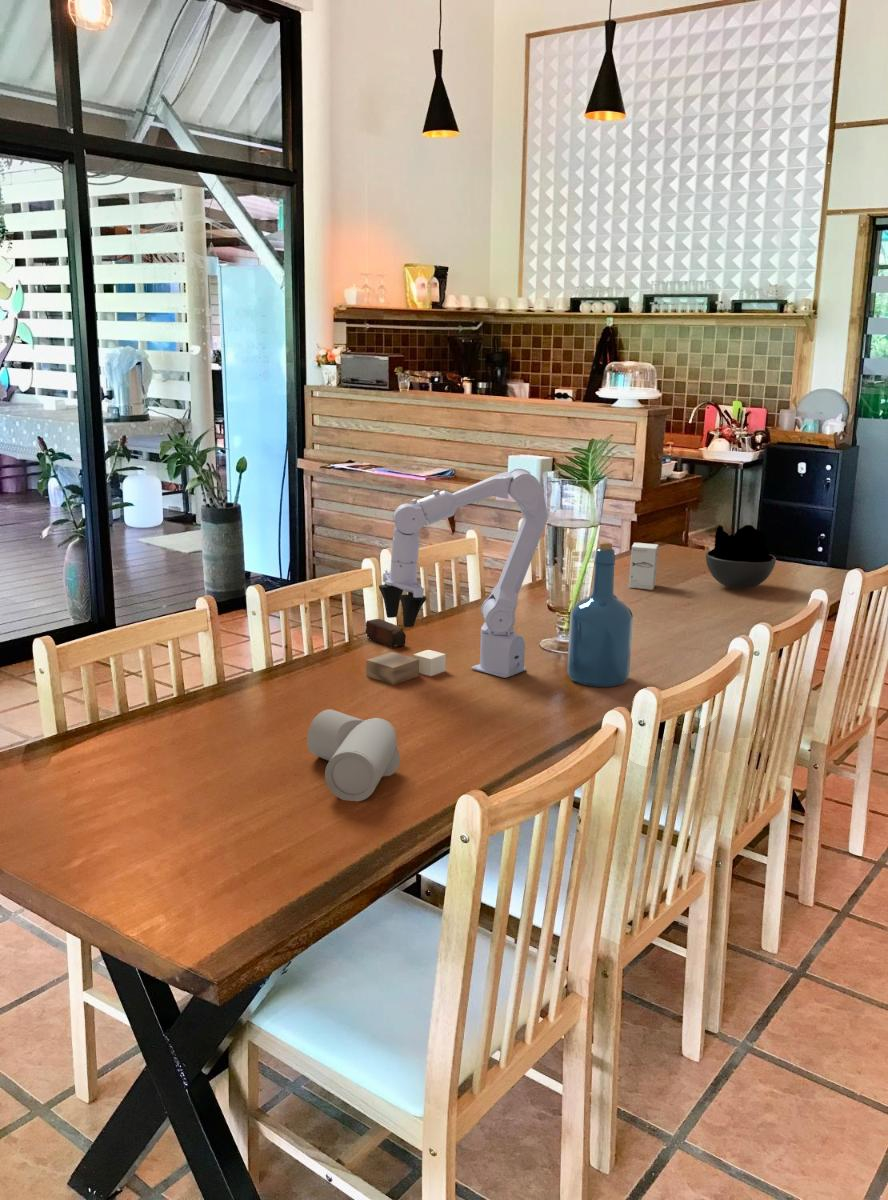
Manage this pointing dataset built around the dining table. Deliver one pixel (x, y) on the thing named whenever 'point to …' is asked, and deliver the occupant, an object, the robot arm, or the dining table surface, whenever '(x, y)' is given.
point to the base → (392, 668)
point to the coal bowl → (740, 558)
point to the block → (430, 662)
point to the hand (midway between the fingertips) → (400, 621)
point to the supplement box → (643, 566)
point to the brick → (385, 633)
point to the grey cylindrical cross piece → (353, 752)
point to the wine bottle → (600, 630)
